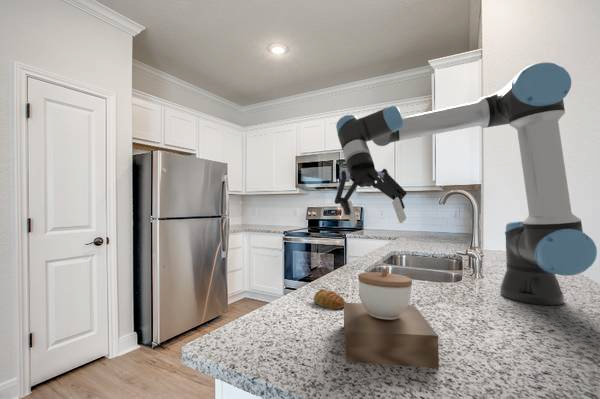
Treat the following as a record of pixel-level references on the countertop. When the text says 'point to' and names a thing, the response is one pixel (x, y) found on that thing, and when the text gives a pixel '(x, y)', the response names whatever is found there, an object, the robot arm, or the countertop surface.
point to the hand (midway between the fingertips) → (379, 223)
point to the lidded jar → (384, 293)
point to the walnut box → (389, 338)
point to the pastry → (329, 299)
